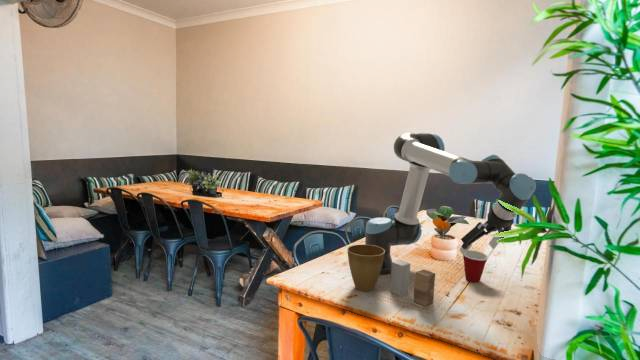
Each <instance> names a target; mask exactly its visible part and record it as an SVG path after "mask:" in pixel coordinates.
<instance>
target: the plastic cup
mask: <svg viewBox="0 0 640 360" xmlns="http://www.w3.org/2000/svg"><path fill="white" fill-rule="evenodd" d="M461 255H462V257H463V266H464V275H465V277H464V278H465V280H466V281H467V282H469V281H470V282H469V283H474V284H475V283H477V284H478V283H480V282H481V279H482V276H483V272H484V270H485V266H486V264H487V261H488V260H489V258H490V257H489V255H487V254H486V253H484V252H481V251H478V250H472V249H469V250H468V252H467V253H466V255H464V256H463V254H462V253H461Z"/></svg>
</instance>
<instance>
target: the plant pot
mask: <svg viewBox="0 0 640 360" xmlns="http://www.w3.org/2000/svg"><path fill="white" fill-rule="evenodd" d="M384 254H385V250H384V249H383V248H381V247H378V246H374V245H365V243H364V244H361V243H359V244H354V245H353V244H352V245H350V246H348V247H347V258H348V259H347V260H348V266H349V270H350V275H351V277H352V281H353V284H354V287H355V289H356V290H358V291H360V292H372V291H374V290H375V288H376V285H377V282H378V279H379V277H380V275H381V274H380V271H381V268H382V264H383V260H384Z"/></svg>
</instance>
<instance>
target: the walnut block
mask: <svg viewBox="0 0 640 360" xmlns="http://www.w3.org/2000/svg"><path fill="white" fill-rule="evenodd" d="M435 281H436V273H435V272H431V270H430V271H429V270H426V269H420V270H417V271H415V275H414V286H413V287H414V289H413V290H414V291H413V300H412V301H413V304H414V305H416V306H418V307H421V308H423V309H427V308H429V307H432V306H434V295H435V285H436V284H435Z"/></svg>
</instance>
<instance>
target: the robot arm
mask: <svg viewBox="0 0 640 360" xmlns="http://www.w3.org/2000/svg"><path fill="white" fill-rule="evenodd" d="M393 152H394V154H395V156H396V157H397V158H399V159H400V160H402V161H404V162H407V163H408V164H409V170H408V173H407V177H406V181H405V186H404V190H403V192H402V197H401V202H400V206H399V209H398V211H397V212H396V213H394V216H393V220H392V219H391V218H389V217H381V216H380V217H374V218H371V219H368V221H366V226H365V241H364V244H365V245H374V246H378V247H381V248H383V249H384V250H385V254H384V260H383V264H382V268H381V271H380V275H386V274H391V270H392V262H393V260H392V255H391V249H392V248H391V247H395V246H402V245H403V246H404V245H405V246H409V245H411V244H415V243H417V242H418V241H419V240H420V239H421V236H422V234H423V233H422V232H423V231H422V230H423V229H422V225H421V223H420V219H419V217H418V214H419V212H420V211H419V210H420V207H421V204H422V200H423V195H424V191H425V188H426V185H427V181H428V177H429V174H430V171H431V170H433V171H436V172H438V173H440V174H443V175H445V176H447V177H449V178H450V179H451V180H452V182H454V183H455V184H459V185H460V184H461V185H470V184H471V185H472V184H473V185H475V184H477V185H480V184H483V185H484V184H491V185H492V186H494V188H495V189H496V190H497V191H498V192H499V193H500V194H499V197H498V198H497V199H496V201H495V202H494V203H493V205H492V207H491V208H490V210H489V211H488V213H487V220H486V221H485V222H484V223H482V222H481V221H479V222H478V223H477V224H475V226H474V227H473V228H472V229H471V230H469V231H468V232H466V234H465V235H464V236H463V237H461V238H460V240H461V241H462V245H461V247H460V248H459V252H460V253H461V255H462V254H463V255H462V257H463V256H464V255H466V253H467V252H468V250H471V247H472V246H473V245H472V244H473V243H475V242H477V241H478V240H479V239H480V238H483V237H484V236H488V235H490V234H491V233H493V232H496V233H495V234H497V233H498V234H499V233H500V232H504V231H509V230H511V231H512V225H513V224H514V219H515V218H517V215H518V214H516V213H514V212H513V211H511V210H509V209H507V208H505V207H504V206H502V205H501V204H500V203H499V202H498V200H501V201H503V202H505V203H508V204H510V205H512V206H515V207H517V208H519V209H521V210H522V208H523V207H524V206H525V204H526V203H527V202H528V201H529V200H530V199H531V198H532V195H533V194H534V192H535V191H536V189H537V184H536V181H535V179H534V178H532V177H530V176H529V175H527V174H525V173H522V172H521V173H516V172H515V171H513V169H512V168H511V167H510V166H509V165H508V164H507V163H506V162H505V161H504V159H502V158H501V157H499V155H496V154H490V155H487V156H485V157H484V158H482V159H481V160H471V159H468V158H464V157H463V156H460V155H456V154H452V153H450V152H447V151H446V149H445V143H444V140H443V139H442V137H440V136H439V135H438V134H435V133H425V132H421V133H420V132H419V133H418V132H405V133H402V134H400V135H399V136H398V137H397V138H396V139H395V141H394V144H393ZM501 238H502V239H503V238H504V237H494V236H492V238H491V239H490V241H489V242H488V245H489V246H490V247H491V249H492V250H495V249H496V247H497V246H498V245H499V243H497V242H496V241H497V240H499V239H501Z"/></svg>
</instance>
